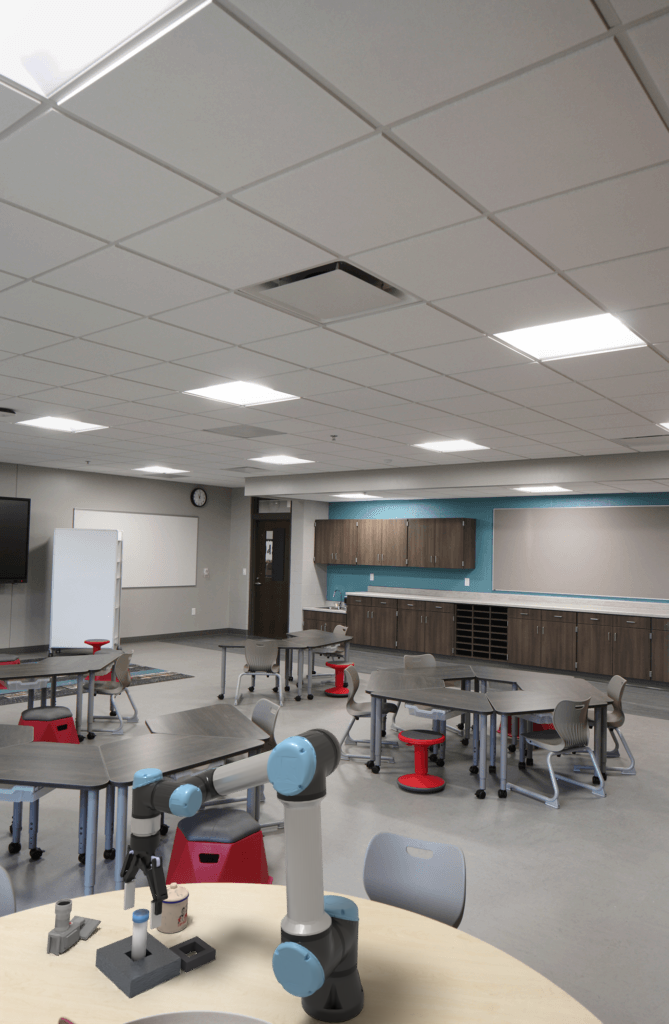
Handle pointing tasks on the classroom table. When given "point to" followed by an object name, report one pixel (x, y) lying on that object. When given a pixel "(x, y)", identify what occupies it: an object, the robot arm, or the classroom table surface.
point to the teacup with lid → (174, 909)
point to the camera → (68, 928)
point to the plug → (139, 934)
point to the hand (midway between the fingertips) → (141, 917)
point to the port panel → (137, 965)
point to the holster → (197, 960)
